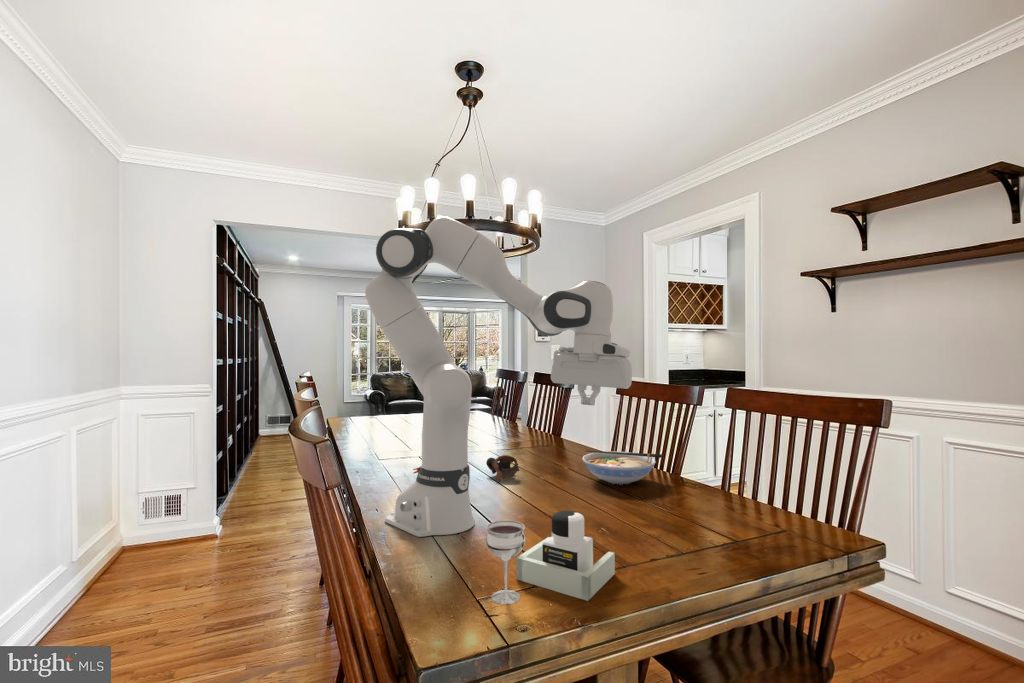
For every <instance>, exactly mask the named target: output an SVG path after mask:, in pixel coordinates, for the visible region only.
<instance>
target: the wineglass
mask: <svg viewBox="0 0 1024 683" xmlns="http://www.w3.org/2000/svg"><path fill="white" fill-rule="evenodd" d="M525 529H526V527H525V525H524V524H523V523H522V522H519V521H515V520H507V519H505V520H495V521H493V522H490V523H488V524H487V525H486V530H487V532H488V533H486V538H485V539H486V547H487V548H488V551H490V552H491V553H492V554H493V556H495V557H497V558H500V559H501V560H502V562H503V578H504V580H503V582H504V584H503V585H504V589H501V590H497V591H495V592H494V593H492V595H491V600H492V601H493V602H494V603H496V604H499V605H511V604H515V603H517V602H519V601H520V600H521V594H520V593H518V591H515V590H510V589H508V576H509V575H508V571H509V561H510V560H511V558H515V557H517V556H519V553H521V551H522V550H524V547H525V544H526V535H525V533H524V531H525Z"/></svg>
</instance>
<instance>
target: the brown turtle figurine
mask: <svg viewBox="0 0 1024 683" xmlns="http://www.w3.org/2000/svg"><path fill="white" fill-rule="evenodd" d="M512 463H514V465H513V466H511V464H512ZM486 466H487V468H488V469H489V470H490V471H491V472H492V473H491V474H492V475H494V474H496V475H495V480H496V481H498V480H499V481H498V482H500V481H501V480H502V479H506V478H509V477H513V476H514V475H516V474H517V472H520V467H519V463H518V459H516V458H515V457H514V456H513V455H512V456H511V455H508V454H502V455H499V456H497V458H494V457H488V458H487V459H486ZM513 474H514V475H513Z"/></svg>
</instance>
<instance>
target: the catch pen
mask: <svg viewBox="0 0 1024 683" xmlns="http://www.w3.org/2000/svg"><path fill="white" fill-rule="evenodd" d="M550 537H551V536H547V537H546V538H544V539H543V540H542V541H540V542H538V543H537V544H535V545H534V546H532V547H531V548H529V549H527V550H526V551H525V552H523V553H521V554H520V555H517V556H516V563H515V564H516V565H515V566H516V570H515V571H516V580H518V581H520V582H524V583H528V584H531V585H534V586H537V587H540V588H544V589H547V590H550V591H553V592H557V593H559V594H563V595H566V596H569V597H573V598H577V599H579V600H583V601H586V602H588V601H590V600H591V599H592V598H593V597H594V596H595V594H597V593H598V592H599V590H601V588H603V586H604V585H605V584H606V583H608V581H609V580H611V579H612V577H613V576H615V574H616V571H615V570H616V567H615V566H616V562H615V561H616V560H615V559H616V558H615V557H616V555H615V552H613V551H608V552H606V553H605V554H604V555H603V556H602V557H601V558H600V559H598V560H597V561H596V562H595V563H593V566H592V567H591V568H589V569H588V570H587V571H586V572H585V573H583V572H579V571H575V570H572V569H568V568H564V567H561V566H557V565H553V564H550V563H546V562H543V542H545V541H546V540H547V539H549V538H550Z"/></svg>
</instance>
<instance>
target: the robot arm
mask: <svg viewBox="0 0 1024 683" xmlns="http://www.w3.org/2000/svg"><path fill="white" fill-rule="evenodd" d="M375 256H376V260H377V262H378V265H379V266H380V267H381V272H380V273H379V274H378V275H376V276H375V277H374V278H372V279H371V280H370V281H369V282H368V284H367V286H366V287H365V291H364V293H365V294H364V295H365V298H366V301H367V304H368V306H369V308H370V311H371V313H372V315H373V317H374V318H375V321H376V323H377V324H378V326H379V328H380V329H381V331H382V333H383V334H384V335H385V337H386V338H387V340H388V342H389V344H390V345H391V346H392V348H393V350H394V351H395V353H396V354H397V356H398V358H399V360H400V361H401V363H402V364H403V366H404V367H405V369H406V371H407V373H408V374H409V376H410V377H411V379H412V380H413V382H414V384H415V385H416V387H417V388H418V390H419V392H420V393H421V395H422V396H423V412H422V427H421V430H422V431H421V465H420V466H419V467H416V468H413V469H412V471H414V472H412V473H413V474H417V475H416V478H415V481H414V482H412V483H411V484H410V485H409V486H408V487H407V488H405V489H404V490H402V491H401V493H399V494H398V495H397V497H396V501H395V506H394V507H395V508H394V511H392V512H391V513H390V512H389V514H388V515H386V516H385V519H384V522H385V523H386V524H389V525H391V526H393V527H396V528H398V529H400V530H402V531H404V532H406V533H408V534H411V535H413V536H415V537H418V538H420V537H421V538H422V537H428V536H445V535H446V536H447V535H455V534H458V533H459V534H460V533H463V532H465V531H468V530H469V529H472V527H474V525H475V524H476V523H475V519H474V518H475V517H474V515H473V512H472V506H471V500H470V499H471V498H470V497H471V496H470V493H469V492H470V491H469V489H470V488H469V487H470V480H471V479H470V478H471V477H470V476H471V475H470V474H471V472H470V471H471V469H470V464H468V461H469V459H468V451H469V450H468V449H469V448H468V447H469V443H468V441H469V440H468V437H469V425H470V416H471V407H472V406H471V405H472V391H473V387H472V386H473V385H472V381H471V378H470V376H469V374H468V373H467V372H466V371H465V370H464V369H463V368H462V367H460V366H458V365H457V364H456V363H455V362H454V359H453V357H452V356H451V354H450V352H449V350H448V348H447V346H446V344H445V342H444V341H443V339H442V337H441V334H440V332H439V331H438V329H437V328H436V326H435V324H434V323H433V320H432V319H431V318H430V316H429V314H428V313H427V311H426V309H425V308H424V306H423V305H422V303H421V301H420V300H419V298H418V296H417V295H416V293H415V291H414V289H413V284H414V283H415V281H416V280H417V279H418V278H419V277H420V276H421V275H422V274H423V272H424V271H425V270H426V269H427V267H428V265H429V264H433V263H436V264H440V265H442V266H444V267H445V268H447V269H449V271H452V272H453V273H455V274H457V275H458V276H460V277H462V278H463V279H465V280H467V281H469V282H470V283H473V284H475V285H476V286H479V287H481V288H482V289H485V290H486V291H488V292H490V293H492V294H494V295H496V296H497V297H498V298H500V299H501V300H502V301H504V302H506V303H507V304H509V305H510V306H511V307H513V308H514V309H516V310H517V311H519V312H520V313H521V314H523V315H524V316H525V317H526V318H527V320H528V321H529V323H530V324H531V325H532V327H533V328H534V329H535V330H536V331H537V332H538V333H540V334H541V335H543V336H546V337H554V336H558V335H560V334H561V333H563V332H566V331H567V330H571V331H573V332H574V338H573V339H574V340H573V347H569V346H568V347H564V346H561V347H559V348H557V349H556V350H555V351H554V353H553V360H552V361H553V362H552V367H551V372H550V380H551V381H552V383H554V384H560V385H561V384H562V385H572V386H573V385H575V386H577V391H578V394H579V396H580V398H581V399H580V405H586V406H595V405H596V398H597V397H598V395H599V394H600V392H601V388H613V389H626V390H627V389H629V388H630V387H631V386H632V382H633V372H632V363H631V360H629V359H628V358H629V357H630V349H629V348H626V347H624V346H621V345H619V344H618V343H614V342H612V340H611V339H612V333H611V324H612V322H613V314H614V313H613V312H614V310H613V308H614V307H613V306H614V303H613V292H612V290H611V288H610V287H609V286H608V285H606V284H605V283H603V282H600V281H596V280H584V281H582V282H581V283H579V284H578V285H575V286H573V287H571V288H567V289H562V290H557V291H554V292H552V293H549V294H548V295H547V296H544V295H542V294H539V293H537V292H536V291H534V290H533V289H531V288H530V287H528V286H527V285H525V284H524V283H522V281H520V280H518V279H517V278H516V277H515V276H514V275H513V274H512V273H511V271H510V269H509V267H508V266H507V265H508V264H507V262H506V258H505V254H504V252H503V250H502V249H501V248H499V246H498V245H497V244H496V243H494V242H493V241H492V240H491V239H489V238H488V237H487V236H485V235H484V234H482V233H480V232H479V231H477V230H476V229H474V228H473V227H471V226H468V225H467V224H464V223H463V222H460V221H458V220H456V219H453V218H452V217H449V216H438V217H437V218H435V219H434V220H432V221H431V222H429V224H428V225H427V227H426V228H425V230H423V229H421V228H406V227H399V228H398V227H397V228H393V229H390V230H387V231H386V232H385V233H383V234H382V235H381V236H380V238H379V239H378V242H377V243H376V247H375ZM587 386H588V387H591V391H592V393H591V395H590V396H589V397H588V396H587V394H586V391H587V389H588V388H587Z"/></svg>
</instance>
